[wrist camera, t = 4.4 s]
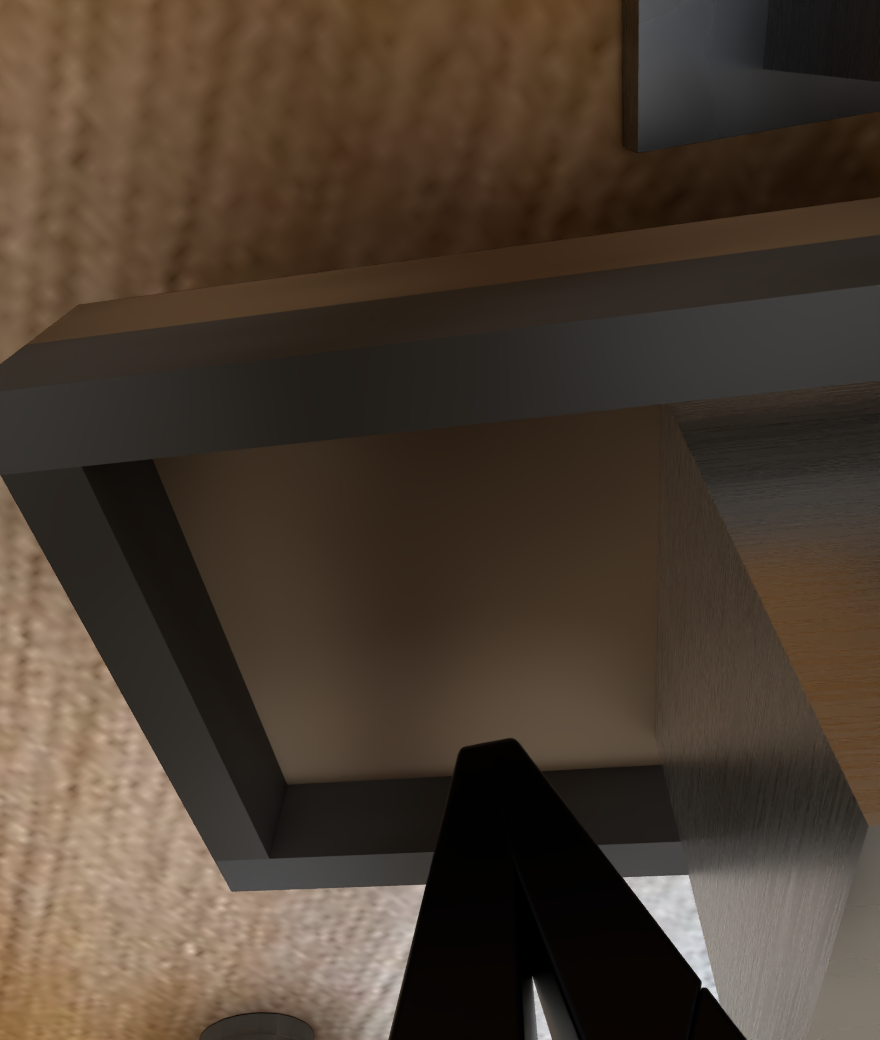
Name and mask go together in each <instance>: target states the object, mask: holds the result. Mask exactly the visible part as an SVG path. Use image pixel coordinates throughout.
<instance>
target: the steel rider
mask: <svg viewBox="0 0 880 1040" xmlns="http://www.w3.org/2000/svg"><path fill="white" fill-rule="evenodd" d="M655 738H656V742H657V746H658V750H659V755H660V759H661V763H662V767H663V771H664V775H665V779H666V783H667V787H668V792H669V796H670V800H671V804H672V808H673V812H674V816H675V820H676V825H677V829H678V833H679V837H680V841H681V845H682V849H683V853H684V857H685V862H686V866H687V870H688V874H689V878H690V882H691V886H692V890H693V894H694V899H695V903H696V907H697V911H698V915H699V919H700V923H701V927H702V931H703V936H704V940H705V944H706V948H707V952H708V956H709V960H710V964H711V968H712V973H713V977H714V981H715V985H716V989H717V993H718V997H719V1001H720V1005H721V1007H722V1008H723V1009H724V1011H725V1012H726V1013H727V1015H728V1016H729V1017H730V1018H731V1020H732V1021H733V1022H734V1024H735V1025H736V1026H737V1027H738V1029H739V1030H740V1031H741V1032H742V1034H743V1035H744V1036H745V1037H746V1038H747V1040H880V381H872V382H863V383H853V384H844V385H835V386H825V387H816V388H807V389H797V390H788V391H779V392H770V393H760V394H751V395H742V396H732V397H723V398H714V399H705V400H695V401H686V402H677V403H667V404H661V425H660V480H659V535H658V590H657V645H656V700H655Z"/></svg>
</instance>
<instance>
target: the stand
mask: <svg viewBox="0 0 880 1040" xmlns="http://www.w3.org/2000/svg"><path fill="white" fill-rule="evenodd" d="M877 111H880V0H623V147H626V148H628V149H630V150H632V151H634V152H637V153H641V152H647V151H652V150H658V149H664V148H670V147H675V146H681V145H687V144H693V143H699V142H704V141H710V140H716V139H722V138H727V137H733V136H739V135H745V134H750V133H756V132H762V131H768V130H773V129H779V128H785V127H791V126H797V125H802V124H808V123H814V122H820V121H825V120H831V119H837V118H843V117H848V116H854V115H860V114H866V113H871V112H877Z"/></svg>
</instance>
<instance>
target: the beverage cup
mask: <svg viewBox="0 0 880 1040" xmlns="http://www.w3.org/2000/svg"><path fill="white" fill-rule="evenodd" d="M200 1040H314V1035H313V1030H312V1029H311V1028H310V1027H309V1026H308V1025H307V1024H306V1023H304V1022H302V1021H300V1020H298V1019H296V1018H294V1017H289V1016H284V1015H280V1014H265V1013H257V1014H247V1015H240V1016H236V1017H232V1018H228V1019H224V1020H222V1021H220V1022H218V1023H216V1024H214V1025H212V1026H210V1027H209V1028H208V1029H207V1030H205V1031H204V1032H203V1033H202V1035H201V1037H200Z"/></svg>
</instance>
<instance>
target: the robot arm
mask: <svg viewBox="0 0 880 1040" xmlns="http://www.w3.org/2000/svg"><path fill="white" fill-rule="evenodd" d="M532 977H533V979H532ZM533 980H534V983H535V986H536V989H537V993H538V996H539V999H540V1002H541V1005H542V1008H543V1012H544V1015H545V1018H546V1021H547V1024H548V1027H549V1031H550V1034H551V1037H552V1040H747V1038H746V1037H745V1036H744V1035H743V1034H742V1032H741V1031H740V1030H739V1029H738V1027H737V1026H736V1025H735V1024H734V1022H733V1021H732V1020H731V1018H730V1017H729V1016H728V1015H727V1013H726V1012H725V1011H724V1009H723V1008H722V1007H721V1005H720V1004H719V1003H718V1001H717V1000H716V999H715V998H714V996H713V995H712V994H711V992H710V991H709V990H708V989H707V988H702V989H701V984H702V983H701V980H700V978H699V977H698V976H697V975H696V973H695V972H694V971H693V969H692V968H691V967H690V965H689V964H688V963H687V961H686V960H685V959H684V958H683V956H682V955H681V954H680V952H679V951H678V950H677V948H676V947H675V946H674V944H673V943H672V942H671V941H670V939H669V938H668V937H667V935H666V934H665V933H664V931H663V930H662V929H661V927H660V926H659V925H658V924H657V922H656V921H655V920H654V918H653V917H652V916H651V914H650V913H649V912H648V910H647V909H646V908H645V906H644V905H643V904H642V903H641V901H640V900H639V899H638V897H637V896H636V895H635V893H634V892H633V891H632V889H631V888H630V887H629V886H628V884H627V883H626V882H625V880H624V879H623V878H622V876H621V875H620V874H619V872H618V871H617V870H616V869H615V867H614V866H613V865H612V863H611V862H610V861H609V859H608V858H607V857H606V855H605V854H604V853H603V852H602V850H601V849H600V848H599V846H598V845H597V844H596V842H595V841H594V840H593V838H592V837H591V836H590V834H589V833H588V832H587V831H586V829H585V828H584V827H583V825H582V824H581V823H580V821H579V820H578V819H577V817H576V816H575V815H574V814H573V812H572V811H571V810H570V808H569V807H568V806H567V804H566V803H565V802H564V800H563V799H562V798H561V797H560V795H559V794H558V793H557V791H556V790H555V789H554V787H553V786H552V785H551V783H550V782H549V781H548V780H547V778H546V777H545V776H544V774H543V773H542V772H541V770H540V769H539V768H538V766H537V765H536V764H535V762H534V761H533V760H532V759H531V757H530V756H529V755H528V753H527V752H526V751H525V749H524V748H523V747H522V745H521V744H520V743H519V742H518V741H517V740H516V739H514V738H506V739H500V740H495V741H490V742H485V743H480V744H474V745H469V746H464V747H462V748H461V749H460V751H459V752H458V755H457V759H456V763H455V768H454V772H453V776H452V780H451V784H450V788H449V792H448V796H447V801H446V805H445V809H444V813H443V817H442V821H441V825H440V829H439V833H438V838H437V842H436V846H435V850H434V854H433V858H432V862H431V866H430V871H429V875H428V879H427V883H426V887H425V891H424V895H423V899H422V904H421V908H420V912H419V916H418V920H417V924H416V928H415V932H414V937H413V941H412V945H411V949H410V953H409V957H408V961H407V965H406V969H405V974H404V978H403V982H402V986H401V990H400V994H399V998H398V1002H397V1007H396V1011H395V1015H394V1019H393V1023H392V1027H391V1031H390V1035H389V1040H538V1037H537V1025H536V1014H535V1002H534V991H533Z"/></svg>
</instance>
